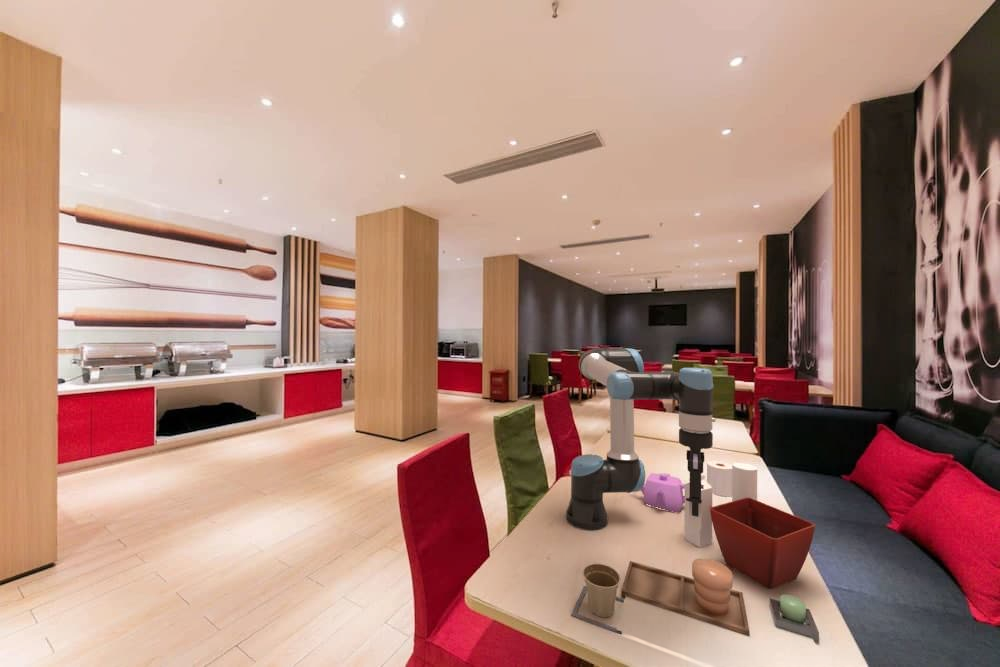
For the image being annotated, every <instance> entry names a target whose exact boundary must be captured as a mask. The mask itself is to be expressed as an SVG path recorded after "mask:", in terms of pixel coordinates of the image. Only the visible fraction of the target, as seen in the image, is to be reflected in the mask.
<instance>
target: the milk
mask: <svg viewBox="0 0 1000 667" xmlns="http://www.w3.org/2000/svg"><path fill="white" fill-rule="evenodd" d="M705 478H706V477H705V475H704V474H703V475H702V474H701V485H704V489H701V500H702V502H701V530H699V529H695V528H691V527H689V501H686V498H689V487H690V485H689V483H690V482H686V483H684V484H685V489H684V496H685V503H684V534H683V535H684V540H686V541H687V542H689V543H691V544H692V545H694V546H696V547H698V548H704V547H706V546H710V545H712V544H713V523H712V518H711V513H710V508H711V507H713V493H712V487H711V486H710V485H709V484H708V483H707V479H705Z"/></svg>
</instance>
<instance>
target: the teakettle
mask: <svg viewBox="0 0 1000 667" xmlns="http://www.w3.org/2000/svg"><path fill="white" fill-rule="evenodd" d="M685 484H686V483H682V481H681V479H680V478H678V477H674V476H671V474H669V473H654V472H653V473H652V472H651V473H649V474H648V477H647V478H646V479H645V483H644V486H643V488H642V489H641V490H640V491H641V493H642V495H643V503H644V505H645V504H648V505H651V506H654V507H658V508H661V509H665V510H668V511H667V512H669V511H673V512H672V513H674V512H679V511H680V512H681V509H682V507H683V504H685V495H684V490H685ZM680 512H679V513H680Z"/></svg>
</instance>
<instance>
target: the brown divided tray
mask: <svg viewBox="0 0 1000 667" xmlns="http://www.w3.org/2000/svg"><path fill="white" fill-rule="evenodd" d="M626 570H627V571H626V573H625V577H624V581H623V584H622V587H621V590H620V592H621V593H620V596H621V597H620V598H623V599H626V597H628V598H631V599H633V600H637V601H640V602H644V603H647V604H649V605H653V606H655V607H657V608H658V607H659V608H662V609H665V610H667V611H671V612H673V613H677V614H681V615H684V616H686V617H689V618H693V619H696V620H698V621H702V622H705V623H708V624H711V625H714V626H717V627H719V628H724V629H726V630H729V631H731V632H735V633H738V634H741V635H745V636H747V637H751V636H750V635H751V634H750V626H749V622H748V615H747V609H746V604H745V600H744V599H745V598H744V594H743V592H741V591H739V590H735V589H732V588H731V589H730V601H729V602H728V612H727V613H726V614H724V615H715V614H712V613H709V612H707V611H705V610H703V609H702V608H701V607H700V606H699V605H698V604H697V602H696V592H695V589H694V578H692V577H688V576H684V575H681V574H678V573H674V572H671V571H667V570H664V569H659V568H658V567H654V566H650V565H646V564H642V563H640V562H635V561H632V560H629V563H628V566H627V569H626Z"/></svg>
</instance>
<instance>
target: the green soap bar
mask: <svg viewBox="0 0 1000 667" xmlns="http://www.w3.org/2000/svg"><path fill="white" fill-rule="evenodd" d="M779 601H780V611H779V612H780V615H781V616H783V617H784V619H788V620H791V621H794V622H798V623H801V624H805V623H806V622H805V621H806V608H807V607H806V604H805V602H804V601H802V600H801V599H800V598H798V597H796V596H793V595H790V594H782V595H780V600H779Z"/></svg>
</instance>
